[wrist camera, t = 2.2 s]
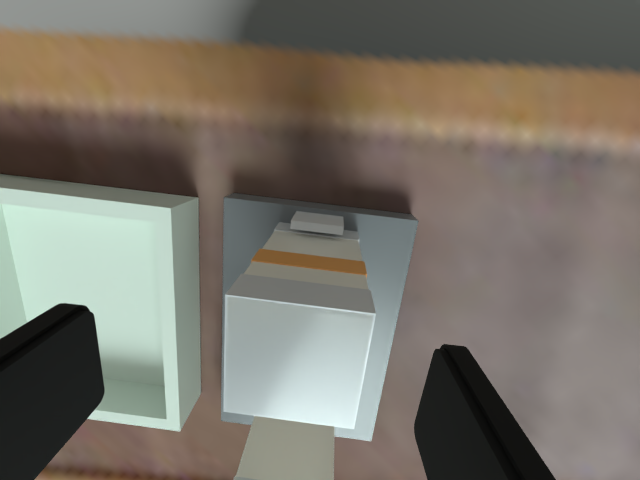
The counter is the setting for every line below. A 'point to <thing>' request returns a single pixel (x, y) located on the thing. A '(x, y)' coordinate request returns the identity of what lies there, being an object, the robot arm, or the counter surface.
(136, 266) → the tray
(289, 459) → the block
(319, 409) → the block
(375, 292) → the block
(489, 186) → the counter surface
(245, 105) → the counter surface
